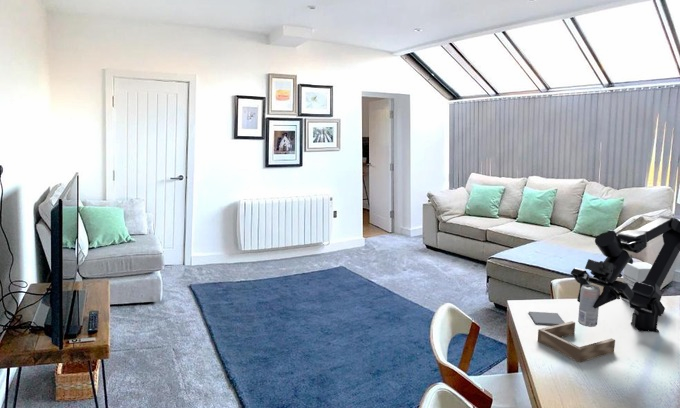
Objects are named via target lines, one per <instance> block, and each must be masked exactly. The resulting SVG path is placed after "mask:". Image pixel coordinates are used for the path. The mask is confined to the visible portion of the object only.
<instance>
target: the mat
mask: <svg viewBox="0 0 680 408" xmlns="http://www.w3.org/2000/svg"><path fill="white" fill-rule="evenodd" d="M528 314H529V316H530V315H531V316H530V318H531V317H532V318H531V319H532V321H533V320H534V321H533V322H535V323H534V324H535V325H541V324H543V325H544V326H545V325H546V326H555V325H559V324H563V323H566V322H565V321H564V320H563V318H562V317H561V316H560V314H559V313H558V312H547V311H546V312H544V311H528Z"/></svg>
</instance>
